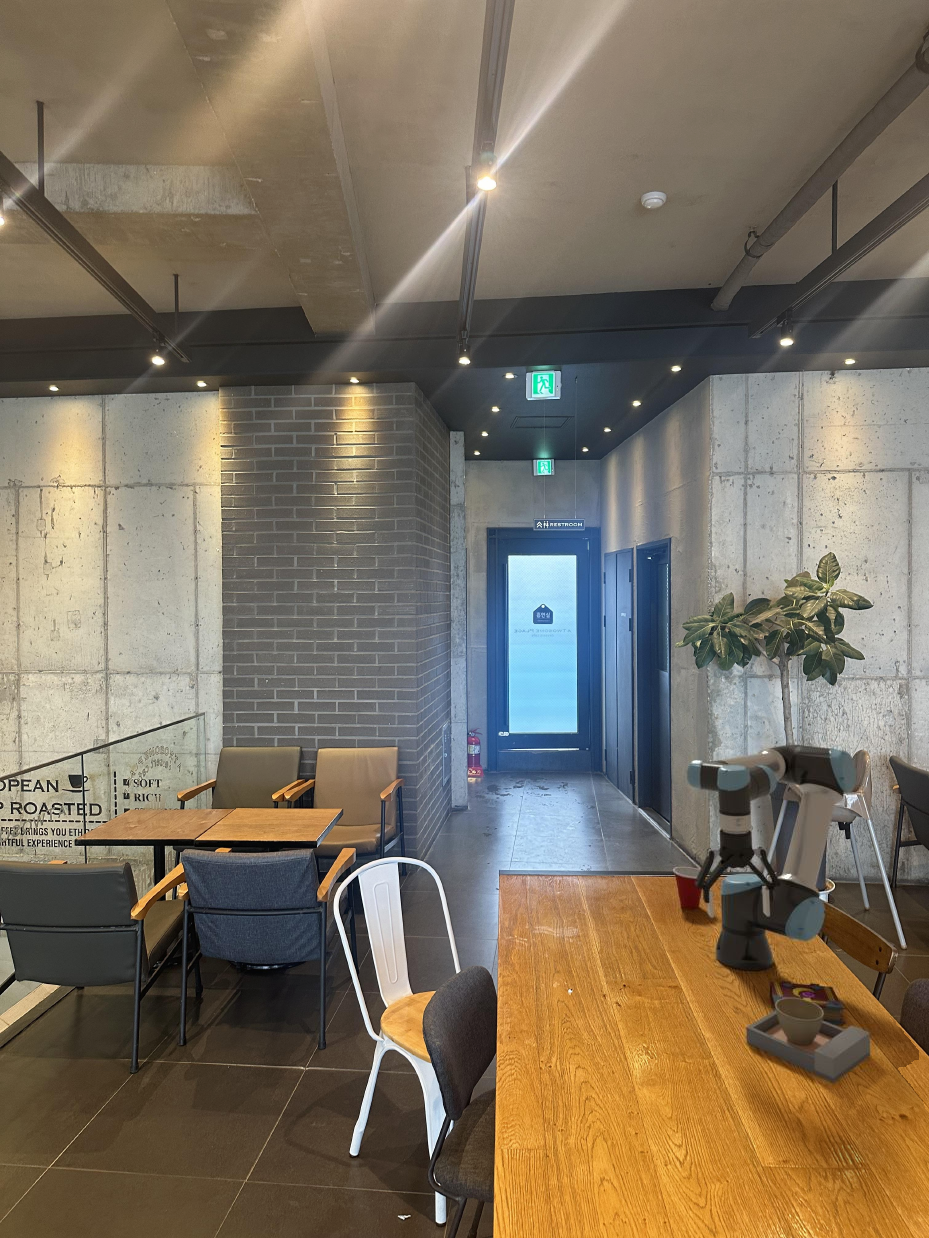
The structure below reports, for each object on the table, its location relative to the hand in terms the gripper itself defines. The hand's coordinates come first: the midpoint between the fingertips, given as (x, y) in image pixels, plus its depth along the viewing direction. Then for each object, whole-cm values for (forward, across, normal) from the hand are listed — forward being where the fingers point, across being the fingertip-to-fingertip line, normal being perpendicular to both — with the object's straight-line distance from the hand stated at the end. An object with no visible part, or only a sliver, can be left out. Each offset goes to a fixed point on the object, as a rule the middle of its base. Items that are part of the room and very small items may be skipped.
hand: (738, 914), depth 194 cm
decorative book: (+24, +15, -2) cm, 28 cm away
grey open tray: (+22, +9, -20) cm, 31 cm away
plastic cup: (+25, +2, +67) cm, 71 cm away
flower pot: (+22, +8, -18) cm, 29 cm away
